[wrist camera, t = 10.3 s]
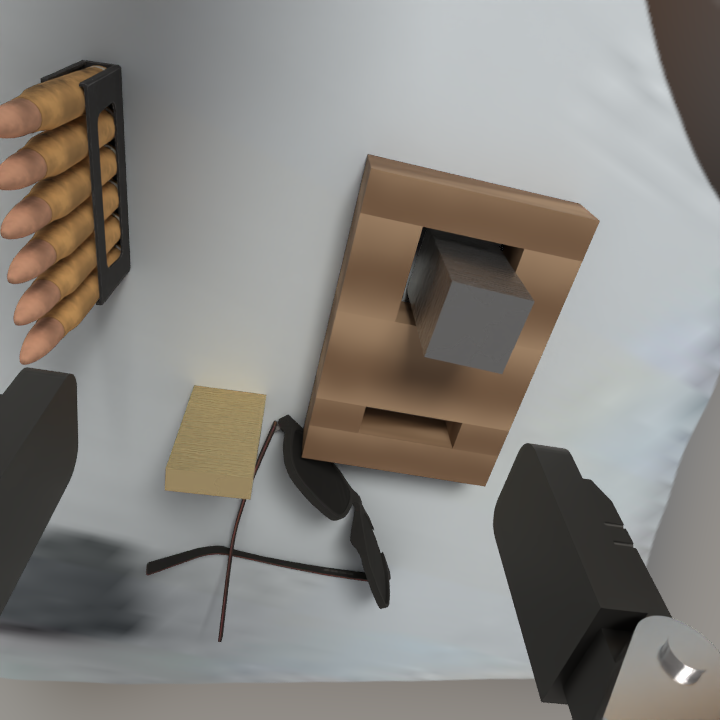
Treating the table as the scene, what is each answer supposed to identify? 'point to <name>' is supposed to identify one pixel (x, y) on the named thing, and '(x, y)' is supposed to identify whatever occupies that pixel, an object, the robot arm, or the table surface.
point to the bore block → (400, 336)
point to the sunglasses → (329, 497)
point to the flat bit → (217, 444)
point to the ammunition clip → (67, 199)
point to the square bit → (467, 301)
